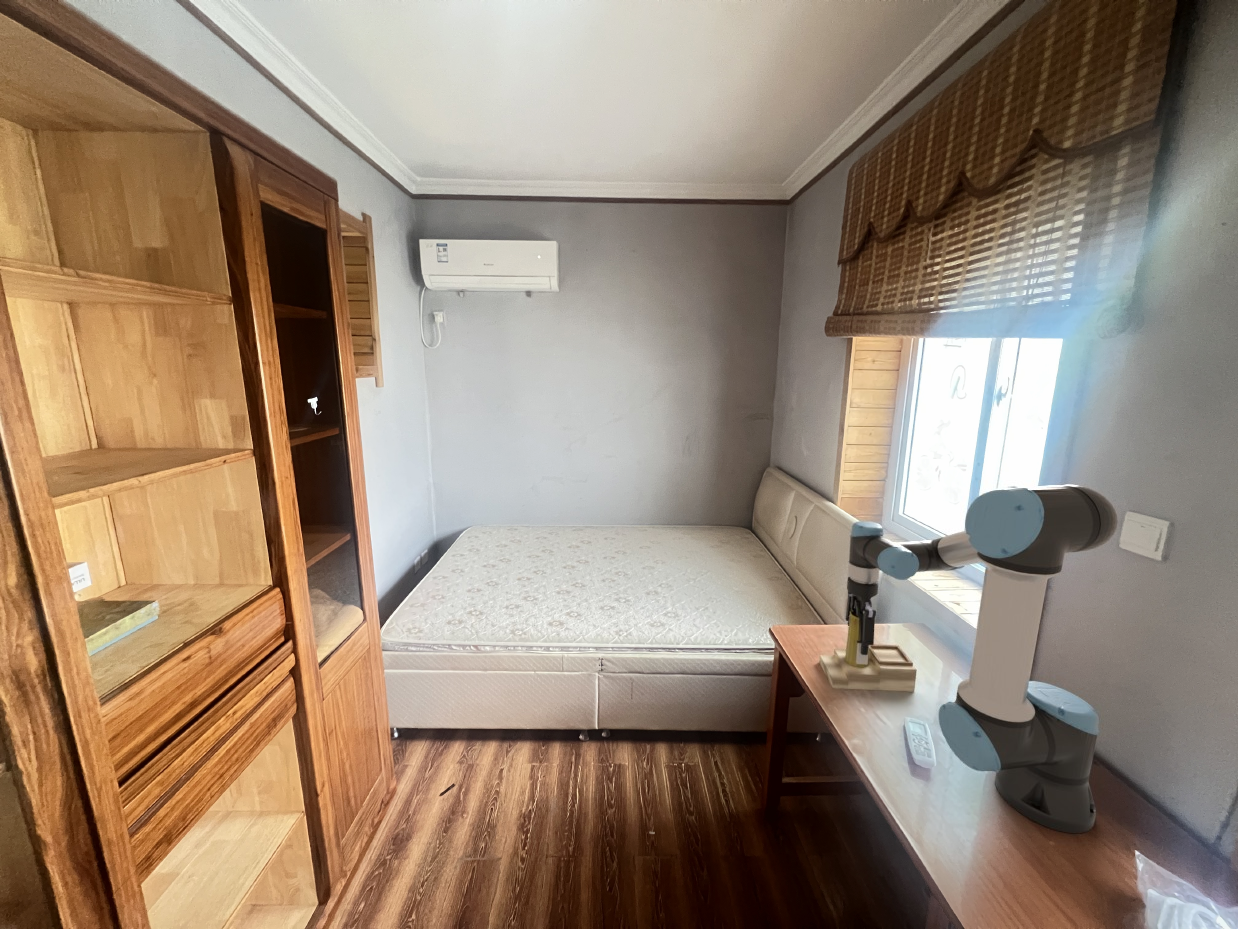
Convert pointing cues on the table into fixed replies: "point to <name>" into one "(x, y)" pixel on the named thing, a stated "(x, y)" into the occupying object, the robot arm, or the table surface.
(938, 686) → the table surface
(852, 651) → the vase
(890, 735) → the table surface
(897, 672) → the step stand
